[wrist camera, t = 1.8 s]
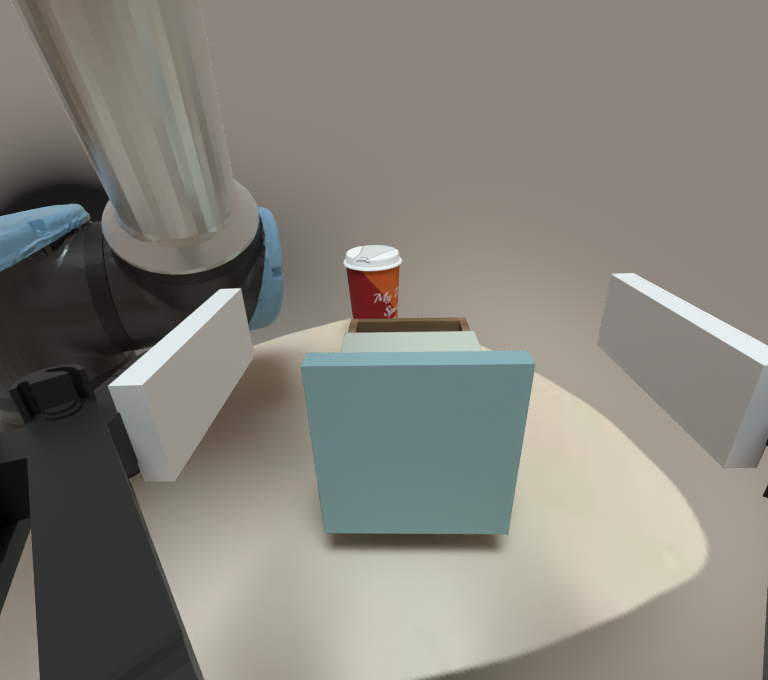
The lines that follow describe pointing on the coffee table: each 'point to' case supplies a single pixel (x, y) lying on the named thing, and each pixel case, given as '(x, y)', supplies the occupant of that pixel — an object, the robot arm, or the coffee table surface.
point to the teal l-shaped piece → (417, 432)
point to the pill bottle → (373, 281)
